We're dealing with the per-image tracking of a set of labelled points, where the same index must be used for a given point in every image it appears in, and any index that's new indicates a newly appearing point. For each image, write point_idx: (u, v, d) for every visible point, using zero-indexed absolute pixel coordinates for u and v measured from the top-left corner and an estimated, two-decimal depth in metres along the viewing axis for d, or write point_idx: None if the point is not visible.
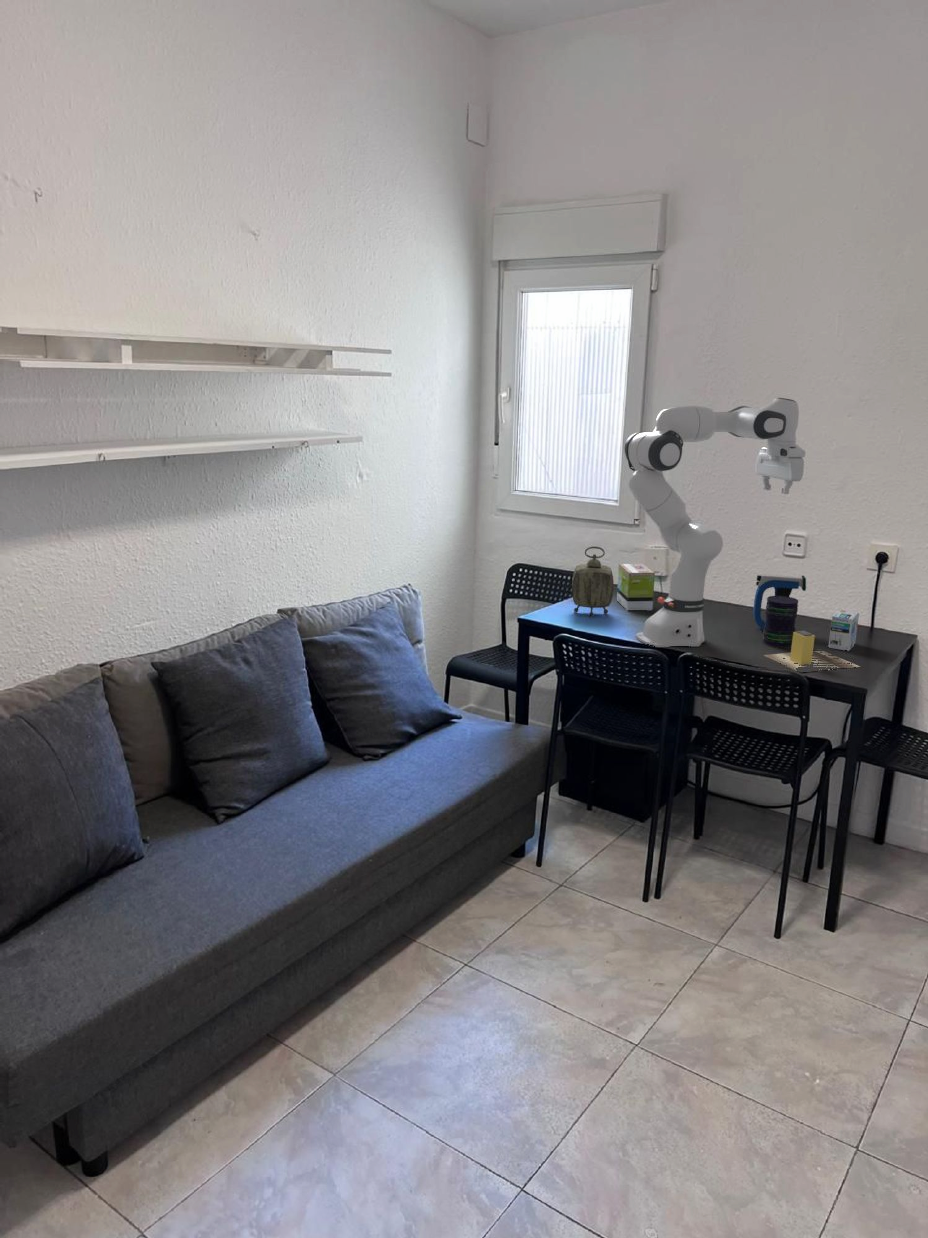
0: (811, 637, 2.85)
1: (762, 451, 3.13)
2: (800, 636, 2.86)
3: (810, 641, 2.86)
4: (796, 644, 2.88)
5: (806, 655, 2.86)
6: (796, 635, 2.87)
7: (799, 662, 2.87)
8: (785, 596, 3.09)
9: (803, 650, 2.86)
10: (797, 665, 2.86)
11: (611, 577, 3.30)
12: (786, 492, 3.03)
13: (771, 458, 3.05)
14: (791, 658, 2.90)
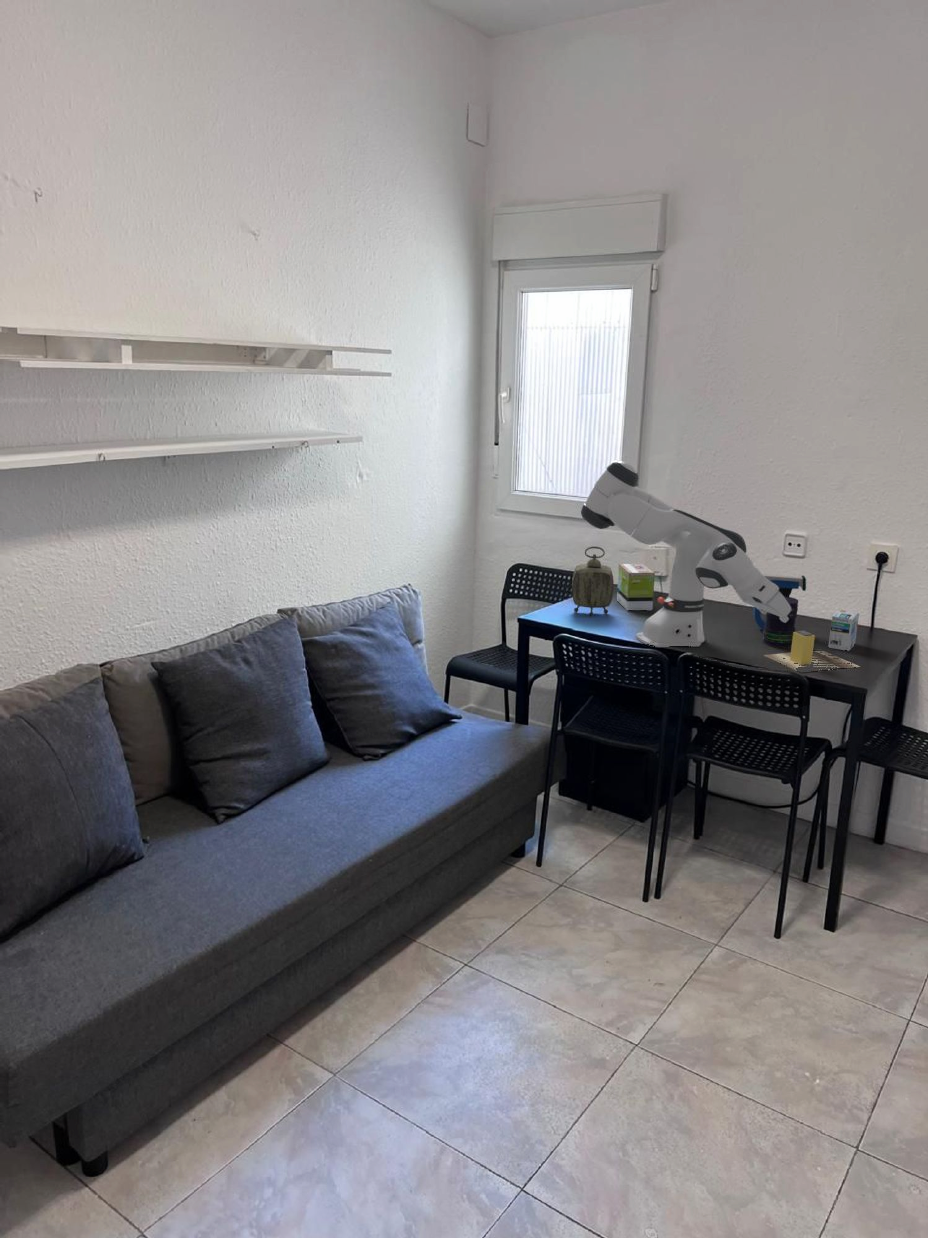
0: (811, 637, 2.85)
1: None
2: (800, 636, 2.86)
3: (810, 641, 2.86)
4: (796, 644, 2.88)
5: (806, 655, 2.86)
6: (796, 635, 2.87)
7: (799, 662, 2.87)
8: (785, 596, 3.09)
9: (803, 650, 2.86)
10: (797, 665, 2.86)
11: (611, 577, 3.30)
12: (786, 620, 2.77)
13: None
14: (791, 658, 2.90)
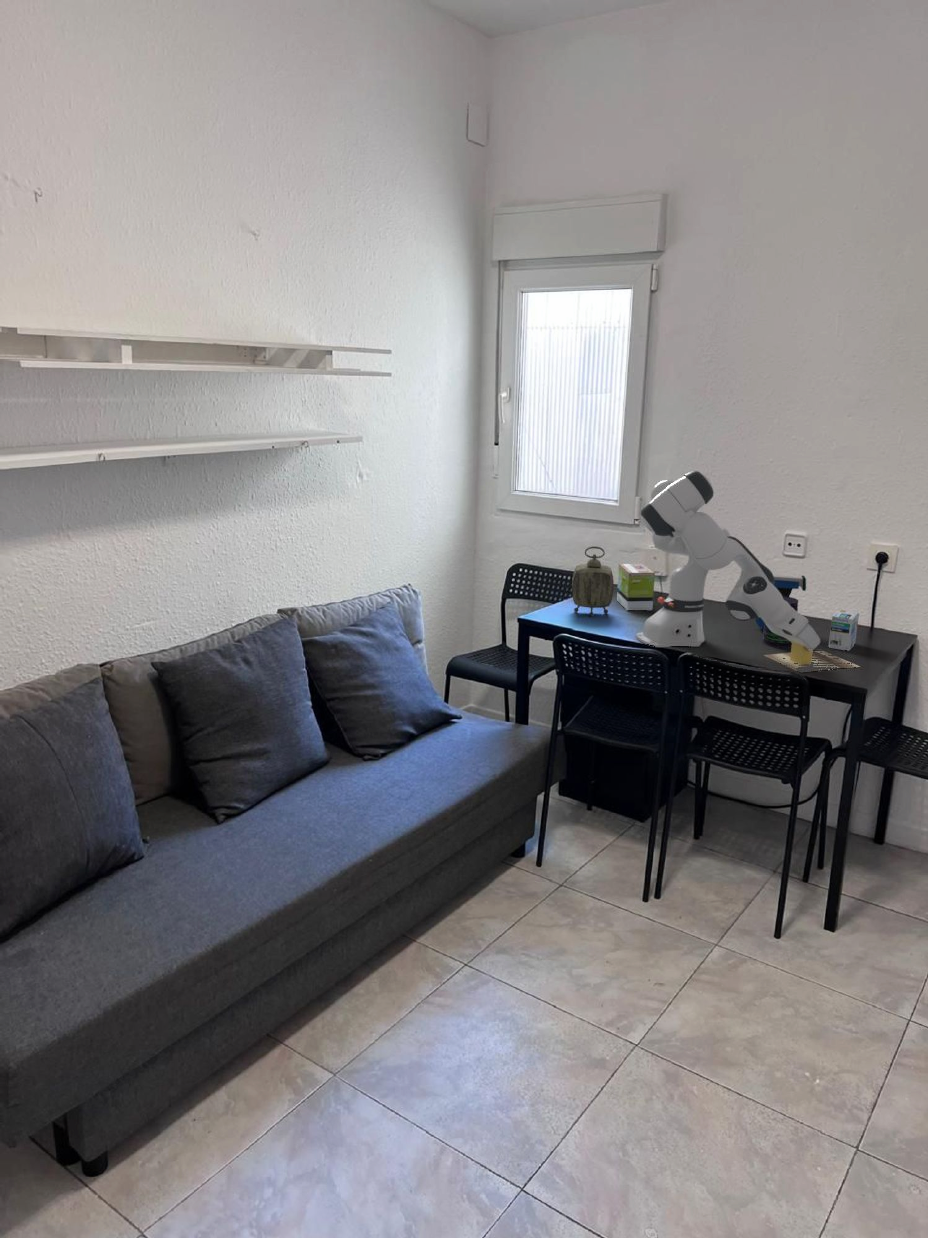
0: None
1: None
2: None
3: None
4: (796, 644, 2.88)
5: (806, 655, 2.86)
6: None
7: (799, 662, 2.87)
8: (785, 596, 3.09)
9: (803, 650, 2.86)
10: (797, 665, 2.86)
11: (611, 577, 3.30)
12: (811, 649, 2.85)
13: None
14: (791, 658, 2.90)
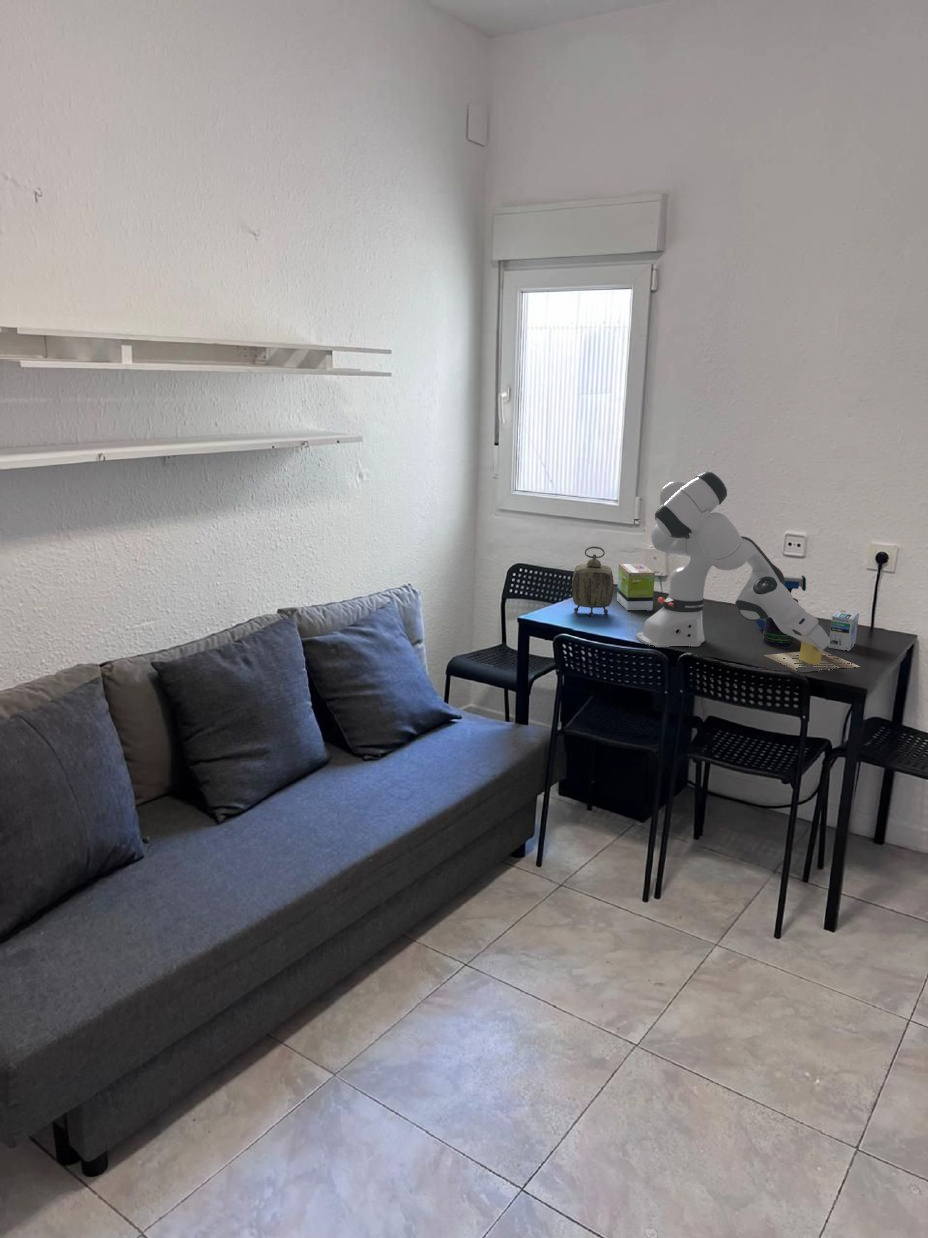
0: None
1: None
2: None
3: None
4: (805, 644, 2.88)
5: (815, 655, 2.87)
6: None
7: (808, 661, 2.87)
8: None
9: (812, 649, 2.86)
10: (797, 665, 2.86)
11: (611, 577, 3.30)
12: (821, 649, 2.85)
13: None
14: (800, 657, 2.91)
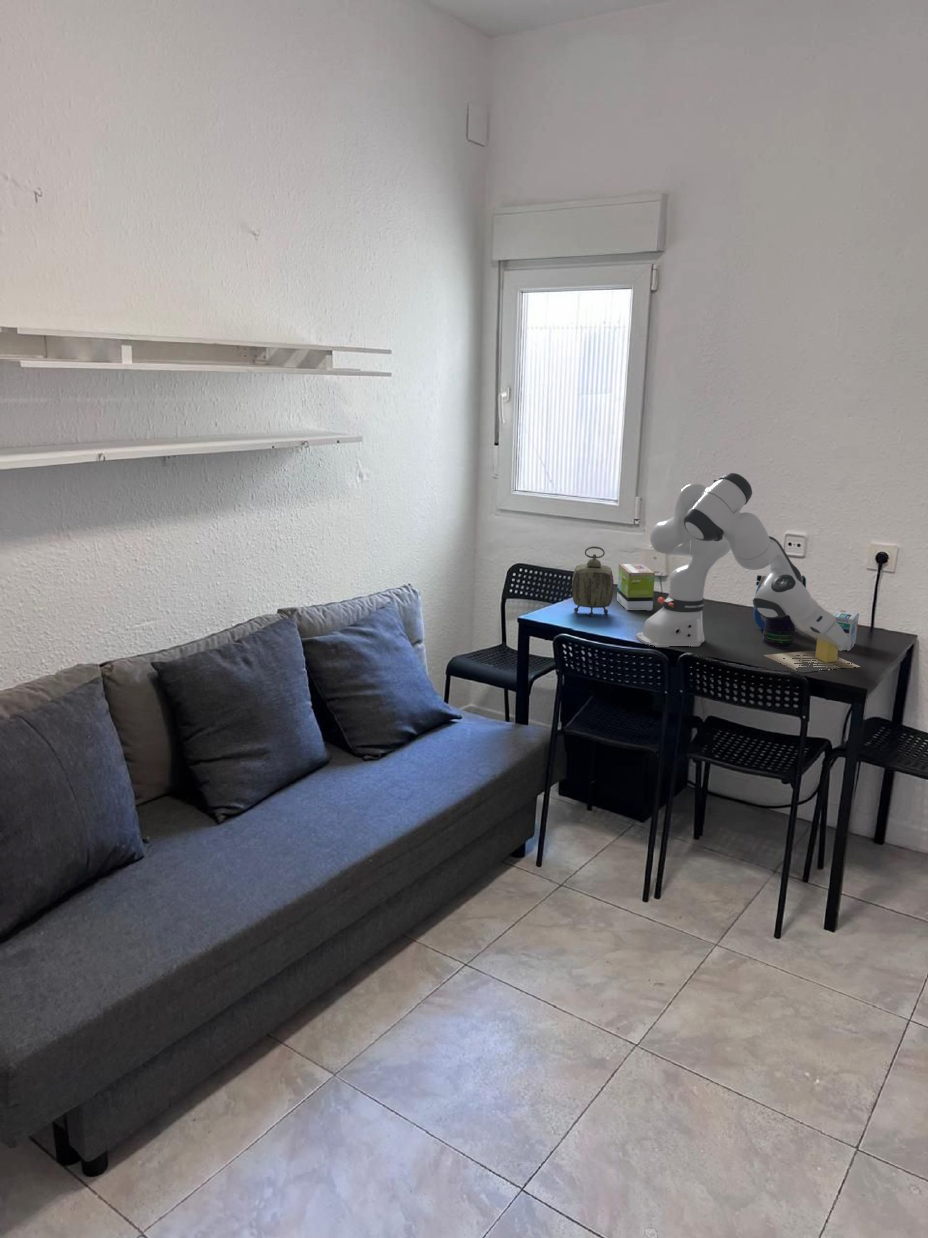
0: None
1: None
2: None
3: None
4: (821, 642, 2.91)
5: (831, 653, 2.90)
6: None
7: (824, 659, 2.90)
8: None
9: (828, 647, 2.89)
10: (797, 665, 2.86)
11: (611, 577, 3.30)
12: (841, 648, 2.87)
13: None
14: (816, 655, 2.94)
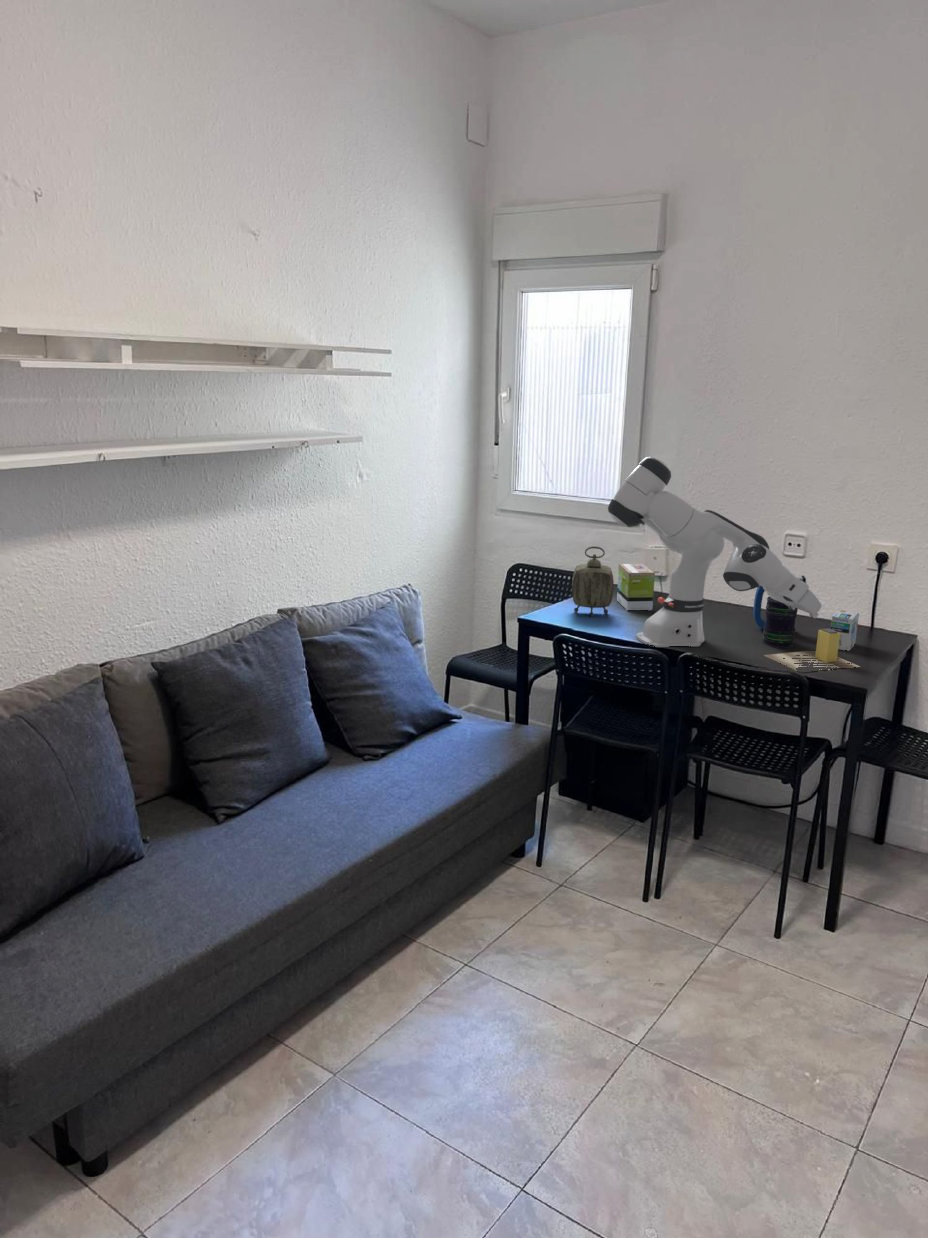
0: (836, 635, 2.88)
1: None
2: (825, 634, 2.89)
3: (835, 639, 2.89)
4: (821, 642, 2.91)
5: (831, 653, 2.90)
6: (821, 633, 2.91)
7: (824, 659, 2.90)
8: None
9: (828, 647, 2.89)
10: (797, 665, 2.86)
11: (611, 577, 3.30)
12: (816, 615, 2.81)
13: None
14: (816, 655, 2.94)
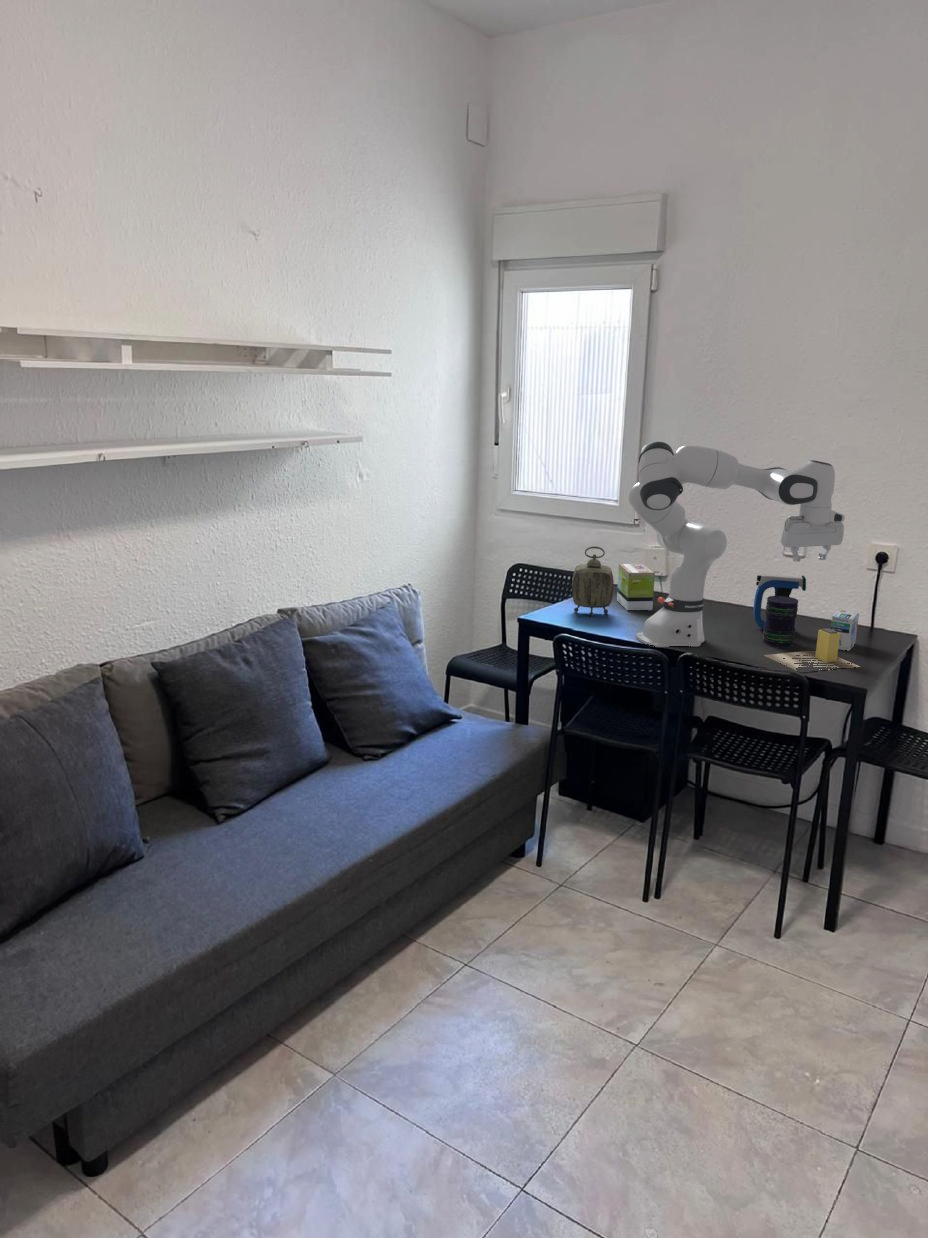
0: (836, 635, 2.88)
1: (790, 521, 2.79)
2: (825, 634, 2.89)
3: (835, 639, 2.89)
4: (821, 642, 2.91)
5: (831, 653, 2.90)
6: (821, 633, 2.91)
7: (824, 659, 2.90)
8: (785, 596, 3.09)
9: (828, 647, 2.89)
10: (797, 665, 2.86)
11: (611, 577, 3.30)
12: None
13: (820, 526, 2.80)
14: (816, 655, 2.94)
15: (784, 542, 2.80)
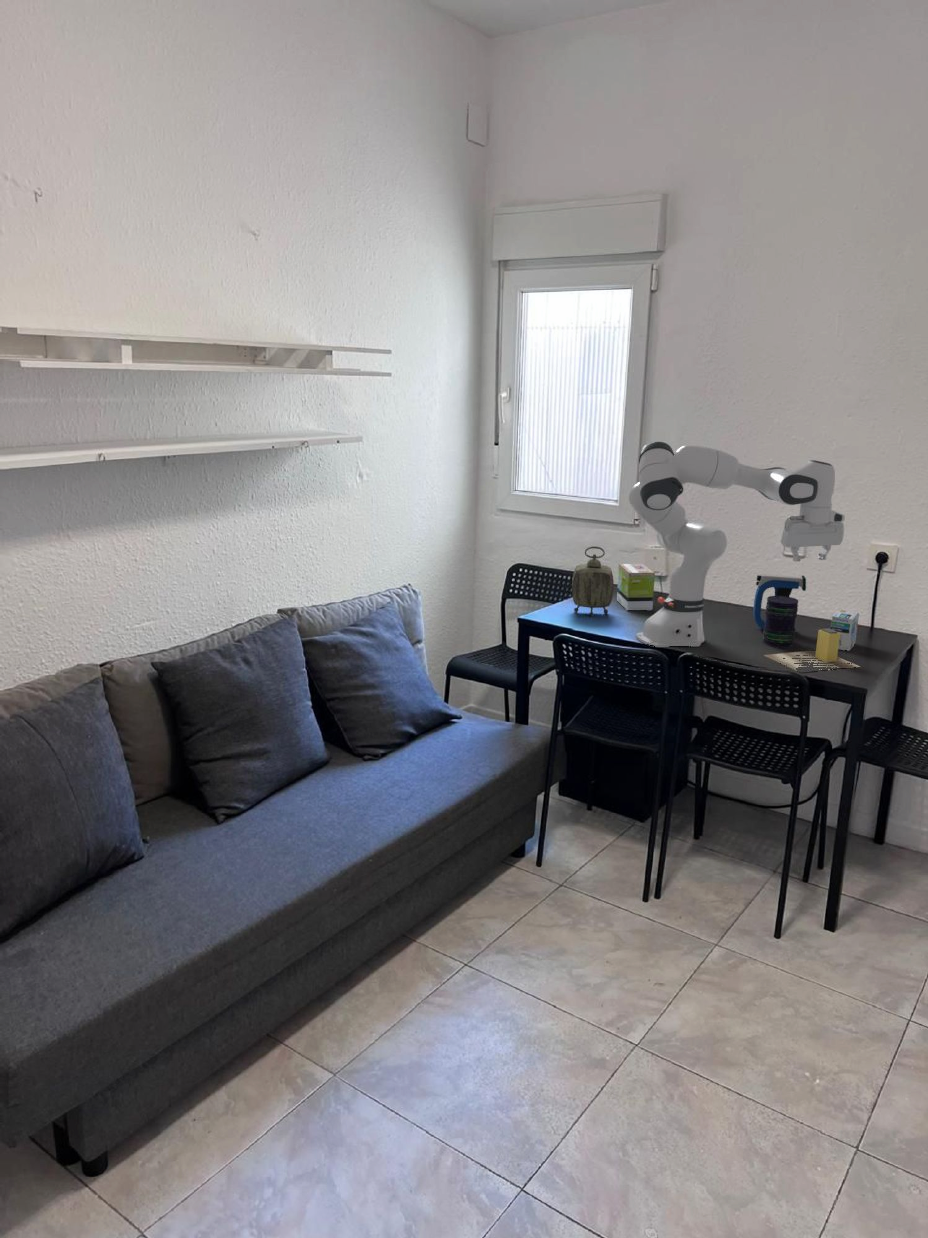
0: (836, 635, 2.88)
1: (791, 521, 2.79)
2: (825, 634, 2.89)
3: (835, 639, 2.89)
4: (821, 642, 2.91)
5: (831, 653, 2.90)
6: (821, 633, 2.91)
7: (824, 659, 2.90)
8: (785, 596, 3.09)
9: (828, 647, 2.89)
10: (797, 665, 2.86)
11: (611, 577, 3.30)
12: None
13: (820, 526, 2.80)
14: (816, 655, 2.94)
15: (784, 542, 2.80)
